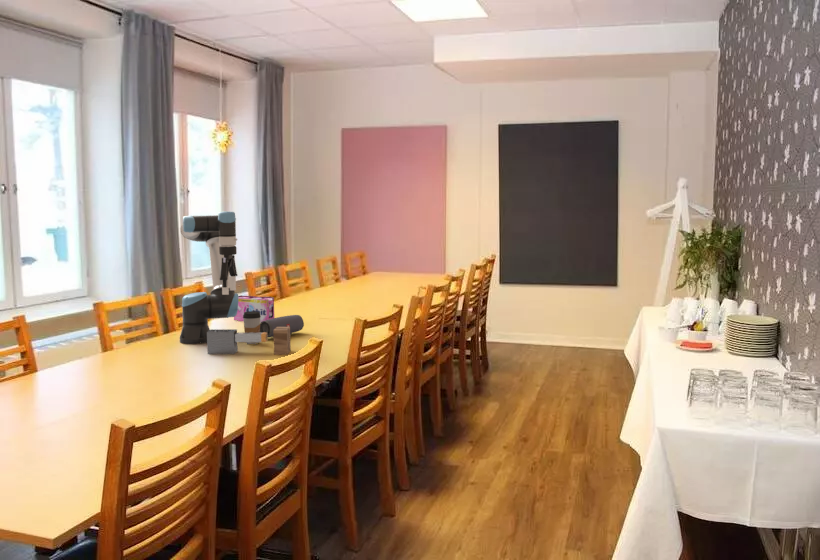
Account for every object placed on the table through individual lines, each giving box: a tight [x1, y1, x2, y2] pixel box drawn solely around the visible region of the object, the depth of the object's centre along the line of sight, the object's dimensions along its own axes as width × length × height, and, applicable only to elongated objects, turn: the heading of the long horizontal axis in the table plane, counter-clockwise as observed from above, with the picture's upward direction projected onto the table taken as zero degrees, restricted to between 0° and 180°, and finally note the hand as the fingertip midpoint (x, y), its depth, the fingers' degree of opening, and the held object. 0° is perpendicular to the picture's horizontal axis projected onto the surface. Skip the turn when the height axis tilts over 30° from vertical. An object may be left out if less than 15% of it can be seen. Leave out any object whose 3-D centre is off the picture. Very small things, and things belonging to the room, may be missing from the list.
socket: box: [273, 327, 292, 355], centre depth 325 cm, size 8×6×11 cm
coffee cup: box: [243, 311, 261, 345], centre depth 345 cm, size 8×8×15 cm
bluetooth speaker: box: [260, 314, 305, 339], centre depth 362 cm, size 23×9×10 cm, turn 143°
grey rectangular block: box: [206, 328, 239, 355], centre depth 326 cm, size 6×12×10 cm, turn 89°
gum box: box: [233, 294, 275, 323], centre depth 407 cm, size 24×8×14 cm, turn 67°
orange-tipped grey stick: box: [234, 332, 268, 343], centre depth 325 cm, size 4×25×4 cm, turn 90°
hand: (229, 292), depth 329 cm, fingers open, 13 cm apart
